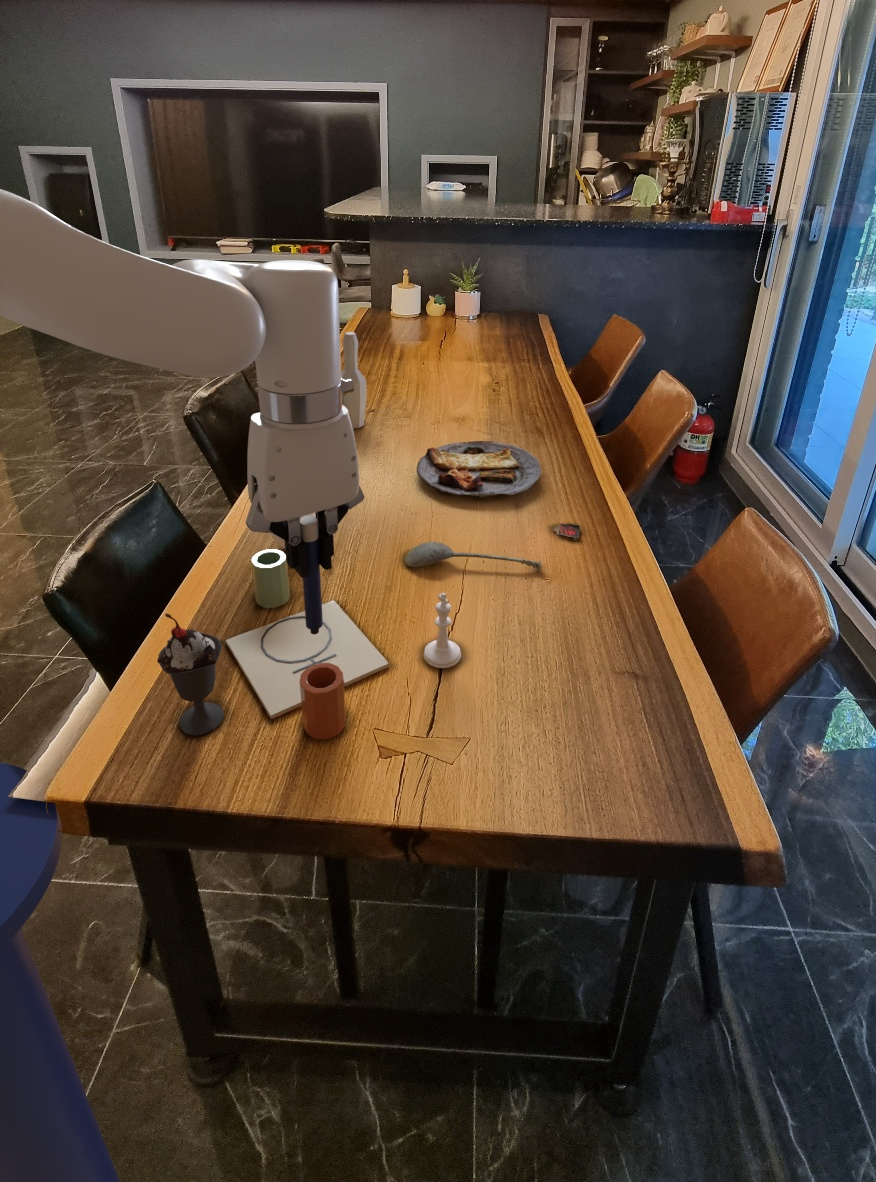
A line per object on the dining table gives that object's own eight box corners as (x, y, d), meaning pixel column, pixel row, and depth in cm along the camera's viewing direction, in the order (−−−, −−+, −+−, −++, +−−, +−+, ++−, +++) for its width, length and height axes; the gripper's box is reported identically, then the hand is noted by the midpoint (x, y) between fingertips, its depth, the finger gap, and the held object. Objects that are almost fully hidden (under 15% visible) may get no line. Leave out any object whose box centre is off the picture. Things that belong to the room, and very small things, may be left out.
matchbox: (579, 525, 123) (579, 522, 123) (582, 540, 119) (582, 538, 118) (552, 524, 123) (552, 521, 123) (555, 539, 119) (555, 537, 119)
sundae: (170, 706, 83) (150, 604, 76) (228, 692, 85) (214, 592, 79) (171, 748, 77) (149, 642, 71) (233, 732, 79) (218, 628, 73)
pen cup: (263, 612, 99) (258, 571, 96) (251, 595, 103) (246, 555, 100) (294, 601, 102) (291, 561, 99) (282, 584, 105) (278, 545, 102)
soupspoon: (408, 550, 116) (401, 574, 110) (408, 533, 114) (400, 557, 109) (540, 558, 113) (540, 583, 108) (541, 541, 112) (541, 565, 106)
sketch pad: (271, 719, 81) (270, 715, 81) (226, 643, 93) (225, 639, 93) (389, 666, 90) (389, 662, 89) (334, 603, 102) (333, 599, 101)
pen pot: (314, 746, 78) (310, 699, 75) (297, 718, 81) (293, 673, 79) (352, 727, 80) (350, 681, 78) (334, 702, 84) (331, 657, 81)
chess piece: (437, 673, 89) (438, 610, 85) (416, 652, 92) (416, 590, 88) (468, 658, 92) (470, 596, 87) (446, 638, 95) (448, 577, 91)
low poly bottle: (334, 423, 163) (329, 332, 154) (356, 417, 167) (353, 328, 158) (349, 432, 159) (346, 338, 150) (372, 425, 163) (369, 334, 153)
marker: (310, 640, 74) (303, 527, 68) (303, 630, 75) (295, 518, 69) (326, 633, 75) (320, 522, 69) (319, 624, 76) (312, 513, 70)
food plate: (415, 503, 129) (415, 486, 128) (417, 451, 150) (417, 436, 149) (548, 503, 130) (549, 487, 129) (531, 451, 151) (532, 437, 150)
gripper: (358, 375, 71) (361, 530, 79) (201, 402, 62) (222, 572, 70) (395, 397, 65) (395, 561, 73) (229, 430, 57) (249, 612, 65)
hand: (310, 565), depth 72 cm, fingers closed on marker, 2 cm apart
